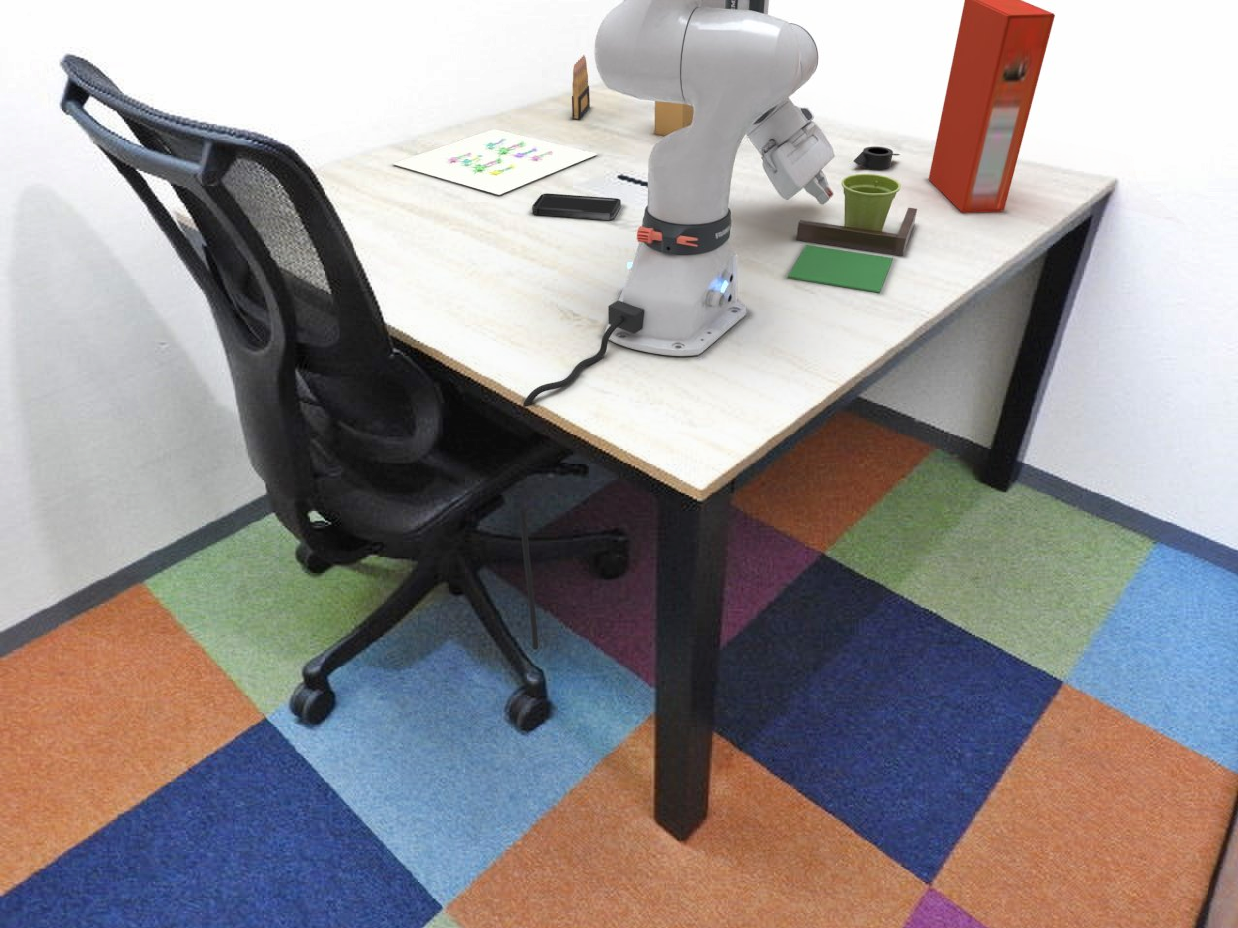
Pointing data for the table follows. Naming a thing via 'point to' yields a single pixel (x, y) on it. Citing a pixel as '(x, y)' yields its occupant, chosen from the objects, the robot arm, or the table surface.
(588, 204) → the phone
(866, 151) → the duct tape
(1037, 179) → the table surface
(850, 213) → the plant pot
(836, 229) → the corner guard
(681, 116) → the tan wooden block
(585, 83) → the ammunition clip
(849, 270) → the green cloth
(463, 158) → the printed paper
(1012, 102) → the file binder
